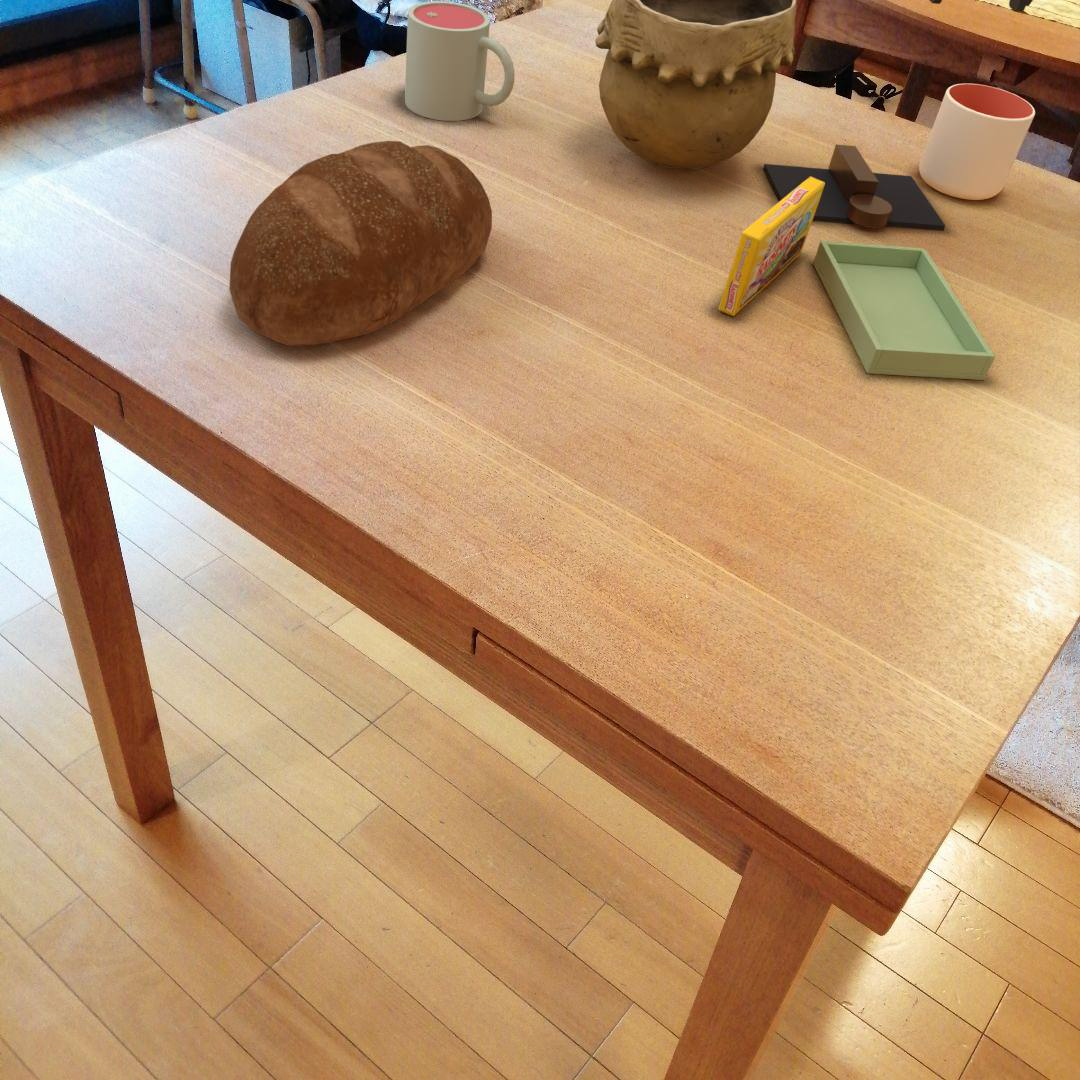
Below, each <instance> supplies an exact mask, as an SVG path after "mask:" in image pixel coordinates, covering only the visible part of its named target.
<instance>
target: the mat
mask: <svg viewBox="0 0 1080 1080" xmlns="http://www.w3.org/2000/svg"><path fill="white" fill-rule="evenodd" d="M762 169H763V171H764V174H765V175H766V177H767V179H768V181H769V184H770V186H771V187H772V189H773V192H774V194H775V196H776V198H777V200H778V202H780V201H781V200H782V199H783V198H784V197H786V196H787V195H788V194H789V193H790V192H792V191H793V190H794V189H795V188H797V187H798V186H799V185H800V184H802V183H803V182H804V181H805V180H807V179H808V178H809V177H813V178H815V179H818V180H820V181H823V182H825V185H824V188H823V191H822V194H821V197H820V201H819V203H818V206H817V209H816V212H815V215H814V218H813V220H812V221H817V222H829V223H842V224H853V225H857V224H856V223H854V222H853V221H851V220H850V219H849V218H848V217H847V216H846V209H847V206H848V202H847V200H846V199H845V197H844V195H843V194H842V192H841V190H840V188H839V187H838V185H837V183H836V182H835V180H834V178H833V177H832V175H831V173H830V171H829V170H828V168H819V167H806V166H797V165H796V166H794V165H782V164H771V163H770V164H769V163H764V164H763V167H762ZM873 174H874V175H875V177H876V178H877V180H878V182H879V183H878V186H877V188H876V191H875V194H874V196H876V197H879V198H881V199H883V200H885V201H887V202H888V203H889V204H890V205H891V207H892V211H891V214H890V216H889V219H888V222H887V224H886V225H885V226H884V227H893V228H894V227H895V228H906V229H907V228H908V229H920V230H921V229H923V230H924V229H925V230H933V231H944V230H945V229H946V224H945V222H944V221H943V220H942V219H941V217H940V215H939V214H938V212H937V211H936V209H935V208H934V207H933V205H932V204H931V203H930V201H929V199H927V197H926V195H925V194H924V192H923V191H922V190H921V188H920V187H919V186H918V184H917V182H916V181H915V180H914V178H913V176H911V175H902V174H889V173H879V172H873Z"/></svg>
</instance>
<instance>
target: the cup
mask: <svg viewBox="0 0 1080 1080" xmlns="http://www.w3.org/2000/svg"><path fill="white" fill-rule="evenodd" d="M1035 115H1036V110H1035V108H1034V106H1033V105H1032V104H1031V103H1030V102H1029V101H1027V100H1026V99H1024V98H1022V97H1021V96H1019V95H1017V94H1015V93H1012V92H1009V91H1008V90H1004V89H1001V88H998V87H994V86H991V85H990V86H989V85H985V84H979V83H957V84H953V85H951V86H949V87H948V88H947V89H946V91H945V93H944V96H943V98H942V102H941V104H940V107H939V109H938V113H937V115H936V117H935V120H934V123H933V126H932V128H931V131H930V133H929V136H928V139H927V141H926V144H925V147H924V149H923V152H922V155H921V157H920V161H919V163H918V171H919V174H920V176H921V178H922V180H923V181H924V182H925V184H926V185H928V186H929V187H931V188H933V189H934V190H935V191H937V192H939V193H942V194H944V195H946V196H950V197H953V198H957V199H960V200H968V201H982V200H987V199H990V198H994V197H995V196H997V195H999V193H1000V192H1001V191H1002V190H1003V188H1004V186H1005V184H1006V182H1007V179H1008V177H1009V175H1010V173H1011V170H1012V168H1013V166H1014V163H1015V162H1016V160H1017V157H1018V155H1019V152H1020V150H1021V148H1022V145H1023V143H1024V141H1025V138H1026V136H1027V135H1028V132H1029V129H1030V127H1031V124H1032V122H1033V120H1034V117H1035Z"/></svg>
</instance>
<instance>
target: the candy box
mask: <svg viewBox="0 0 1080 1080" xmlns="http://www.w3.org/2000/svg"><path fill="white" fill-rule="evenodd" d="M824 185H825V182H823V181H820V180H818V179H815V178H813V177H809V178H808V179H807V180H805V181H804V182H803V183H802V184H800V185H799V186H798V187H797V188H795V189H794V190H793V191H792V192H790V193H789V194H788V195H787V196H786V197H784V198H783V199H782V200H781V201H780V202H779V201H778V202H777V203H776V204H774V206H772V207H771V208H769V209H768V211H766V212H765V213H763V214H762V215H761V216H760V217H758V219H756V220H755V221H754V222H753V223H751V224H750V225H749V226H748V227H747V228H746V229H744V230H743V231H742V233H741V236H740V239H739V241H738V242H739V243H738V246H737V249H736V251H735V253H734V258H733V261H732V263H731V267H730V271H729V273H728V276H727V279H726V284H725V286H724V290H723V293H722V296H721V300H720V302H719V305H718V311H719V312H721V313H723V314H727V315H729V316H732V317H735V316H736V315H737V314H738V313H739V312H740V311H741V310H742V309H743V308H744V307H745V306H746V305H748V303H750V302H751V301H752V300H753V299H754V298H755V297H757V295H758V294H760V293H761V292H762V290H764V289H765V288H766V287H767V286H769V285H770V283H772V281H774V280H775V279H776V278H777V277H778V276H779V275H780V274H781V273H782V272H783V271H784V270H785V269H786V268H787V267H789V265H791V263H792V262H794V261H795V260H796V259H797V258H798V257H799V256H801V253H802V251H803V248H804V246H805V243H806V240H807V238H808V234H809V232H810V229H811V227H812V223H813V221H814V220H813V218H814V215H815V212H816V209H817V206H818V203H819V201H820V197H821V194H822V191H823V188H824Z"/></svg>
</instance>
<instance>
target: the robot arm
mask: <svg viewBox="0 0 1080 1080" xmlns="http://www.w3.org/2000/svg"><path fill="white" fill-rule="evenodd" d="M942 1H943V0H929V2H930V3H931V4H936V5H941V4H942ZM1033 1H1034V0H1009V1H1008V6H1009V8H1010V9H1011V10H1012V11H1013V12H1017V13H1023V12H1024V11H1025V10H1026V7H1030V5H1031V4H1032V3H1033Z"/></svg>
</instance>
